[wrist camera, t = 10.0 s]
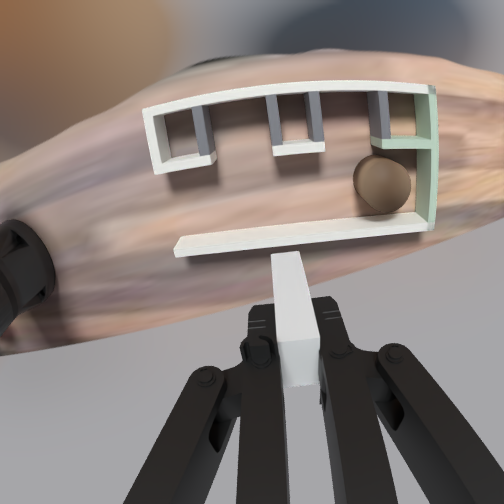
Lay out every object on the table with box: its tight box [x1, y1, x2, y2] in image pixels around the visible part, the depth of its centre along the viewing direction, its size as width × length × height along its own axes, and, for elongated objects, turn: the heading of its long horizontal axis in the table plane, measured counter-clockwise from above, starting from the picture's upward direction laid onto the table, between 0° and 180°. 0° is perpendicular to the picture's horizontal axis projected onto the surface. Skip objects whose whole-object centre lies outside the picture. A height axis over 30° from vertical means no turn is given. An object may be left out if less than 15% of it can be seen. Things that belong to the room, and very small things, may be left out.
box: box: [142, 80, 439, 257], centre depth 29 cm, size 30×16×4 cm, turn 98°
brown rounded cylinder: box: [353, 155, 411, 212], centre depth 29 cm, size 6×6×4 cm
